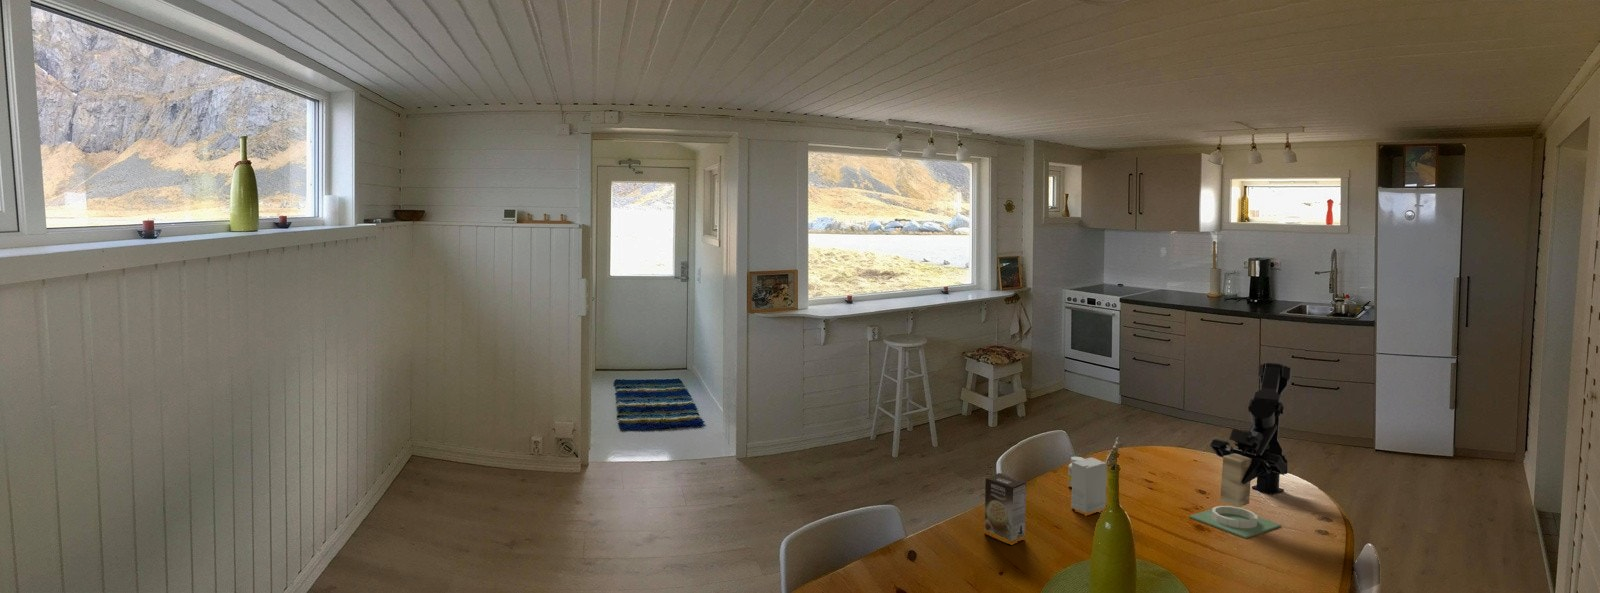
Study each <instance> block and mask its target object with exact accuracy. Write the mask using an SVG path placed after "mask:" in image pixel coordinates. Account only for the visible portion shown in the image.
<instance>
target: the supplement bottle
mask: <svg viewBox="0 0 1600 593" xmlns="http://www.w3.org/2000/svg"><path fill="white" fill-rule="evenodd" d="M1084 459H1085V458H1084V457H1081V456H1071V457H1070V463H1069V464H1068V468H1067V469H1068V470H1067V485H1068V484H1069V485H1071V486H1072V462H1076V461H1080V460H1084Z"/></svg>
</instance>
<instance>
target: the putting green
mask: <svg viewBox="0 0 1600 593" xmlns="http://www.w3.org/2000/svg"><path fill="white" fill-rule="evenodd" d="M1188 518H1189V519H1192V520H1194V521H1197V522H1200V523H1203V524H1205V525H1209V526H1211V527H1214V528H1216V529H1219V530H1220V531H1221V530H1222V531H1225V532H1226V533H1230V534H1233V535H1235V536H1237V537H1240V538H1242V539H1248V538H1252V537H1254V536H1257V535H1260V534H1263V533H1266V532H1268V531H1269V532H1270V531H1272V530H1275V529H1278V528H1280V527H1282V524H1280V523H1277V522H1274V521H1271V520H1268V519H1264V518H1262V517H1260V516H1258V515H1257V514H1256V513H1254V512H1253V511H1252V510H1248V509H1246V508H1243V507H1235V506H1233V505H1217V506H1214V507H1212V508H1210V509H1207V510H1204V511H1201V512H1196V513H1194V514H1190V515H1188Z"/></svg>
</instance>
